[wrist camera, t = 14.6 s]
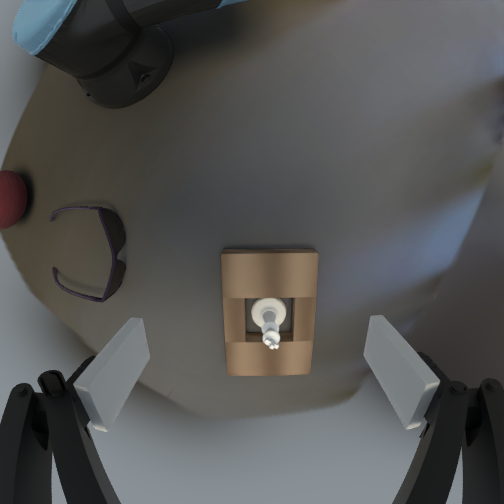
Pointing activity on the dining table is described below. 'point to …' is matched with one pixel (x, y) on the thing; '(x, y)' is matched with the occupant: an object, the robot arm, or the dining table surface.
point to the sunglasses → (116, 243)
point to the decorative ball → (11, 198)
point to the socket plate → (269, 286)
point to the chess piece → (269, 318)
